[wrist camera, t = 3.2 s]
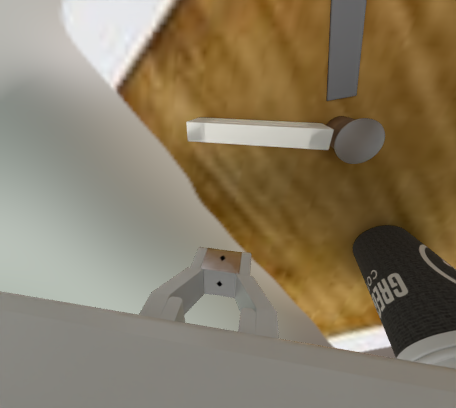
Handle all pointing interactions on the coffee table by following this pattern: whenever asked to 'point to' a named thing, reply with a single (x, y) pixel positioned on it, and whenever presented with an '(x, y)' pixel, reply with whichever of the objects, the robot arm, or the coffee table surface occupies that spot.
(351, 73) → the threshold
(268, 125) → the white long block
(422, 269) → the coffee cup
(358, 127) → the hinge post
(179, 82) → the coffee table surface
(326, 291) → the coffee table surface
